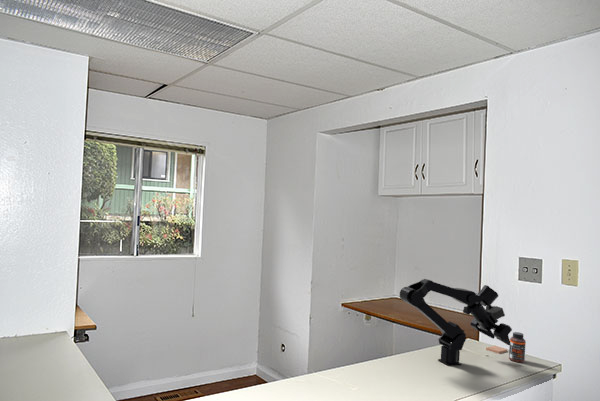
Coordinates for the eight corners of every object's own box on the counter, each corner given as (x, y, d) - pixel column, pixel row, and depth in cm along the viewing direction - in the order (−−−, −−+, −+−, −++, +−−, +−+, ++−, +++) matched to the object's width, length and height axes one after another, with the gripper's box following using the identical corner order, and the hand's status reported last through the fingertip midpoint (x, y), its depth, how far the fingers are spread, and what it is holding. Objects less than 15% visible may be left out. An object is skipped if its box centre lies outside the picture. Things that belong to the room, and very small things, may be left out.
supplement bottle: (510, 361, 186) (512, 334, 186) (507, 357, 192) (508, 330, 192) (526, 363, 185) (527, 335, 185) (522, 359, 190) (523, 332, 191)
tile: (498, 351, 197) (507, 349, 201) (486, 347, 201) (494, 345, 206) (498, 354, 197) (507, 352, 201) (485, 350, 201) (494, 348, 206)
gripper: (509, 305, 176) (530, 333, 179) (478, 295, 194) (498, 321, 197) (490, 325, 174) (513, 353, 176) (461, 314, 192) (481, 339, 194)
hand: (501, 341), depth 186 cm, fingers open, 9 cm apart
